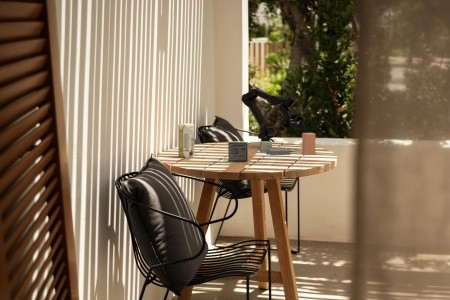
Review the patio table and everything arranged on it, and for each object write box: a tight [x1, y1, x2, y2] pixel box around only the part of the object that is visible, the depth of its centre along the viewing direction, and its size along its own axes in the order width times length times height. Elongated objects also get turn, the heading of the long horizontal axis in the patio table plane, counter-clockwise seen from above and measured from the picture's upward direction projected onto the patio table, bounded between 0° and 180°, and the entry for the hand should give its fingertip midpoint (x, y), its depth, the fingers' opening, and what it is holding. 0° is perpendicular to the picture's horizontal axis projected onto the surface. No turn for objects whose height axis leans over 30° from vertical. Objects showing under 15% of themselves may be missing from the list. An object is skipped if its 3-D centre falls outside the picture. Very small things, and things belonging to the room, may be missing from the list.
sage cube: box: [258, 140, 273, 153], centre depth 473 cm, size 6×6×6 cm
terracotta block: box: [301, 132, 317, 155], centre depth 464 cm, size 6×6×12 cm
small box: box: [227, 141, 249, 163], centre depth 434 cm, size 11×6×10 cm, turn 84°
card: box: [291, 148, 302, 153], centre depth 477 cm, size 8×8×1 cm
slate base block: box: [265, 147, 291, 156], centre depth 463 cm, size 11×11×3 cm
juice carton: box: [177, 122, 195, 159], centre depth 450 cm, size 8×9×19 cm
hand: (300, 131), depth 467 cm, fingers open, 9 cm apart
